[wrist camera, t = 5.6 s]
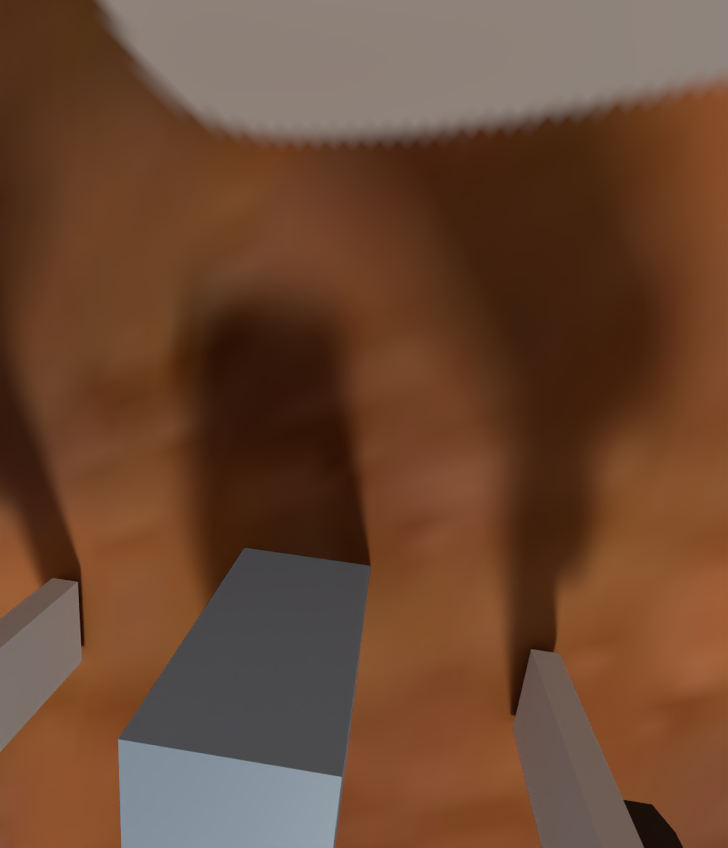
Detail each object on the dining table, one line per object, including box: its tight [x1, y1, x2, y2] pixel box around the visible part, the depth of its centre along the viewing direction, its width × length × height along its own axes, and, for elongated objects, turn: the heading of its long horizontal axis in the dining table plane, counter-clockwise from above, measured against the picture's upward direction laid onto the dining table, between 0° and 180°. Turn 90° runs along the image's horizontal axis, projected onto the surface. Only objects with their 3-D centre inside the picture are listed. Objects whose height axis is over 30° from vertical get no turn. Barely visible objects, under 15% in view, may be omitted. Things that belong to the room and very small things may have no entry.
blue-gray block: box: [118, 548, 371, 848], centre depth 11 cm, size 6×4×6 cm, turn 174°
